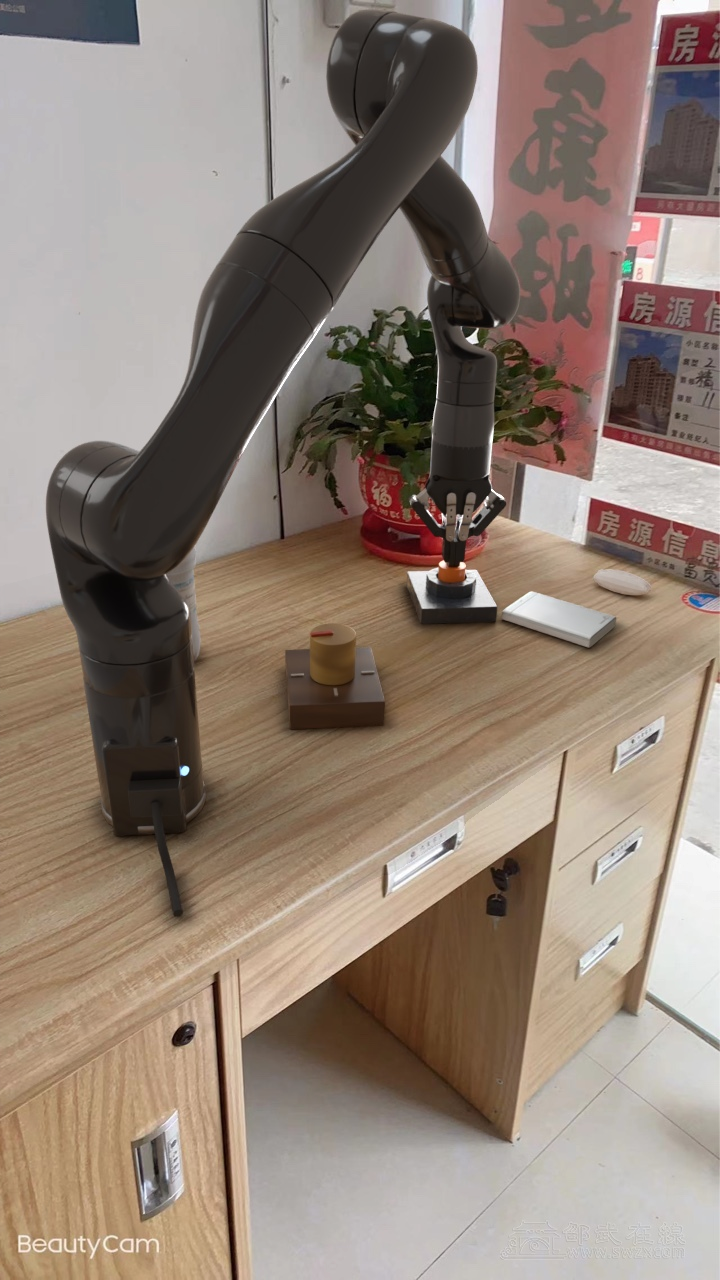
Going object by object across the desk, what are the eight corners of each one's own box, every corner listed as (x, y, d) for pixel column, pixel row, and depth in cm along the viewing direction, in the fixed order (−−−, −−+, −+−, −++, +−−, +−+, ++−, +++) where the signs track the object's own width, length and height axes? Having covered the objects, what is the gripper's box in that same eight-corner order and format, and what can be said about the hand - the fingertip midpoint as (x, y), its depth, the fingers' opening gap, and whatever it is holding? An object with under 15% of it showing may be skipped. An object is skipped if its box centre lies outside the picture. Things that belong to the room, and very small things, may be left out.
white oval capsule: (597, 580, 128) (600, 562, 127) (651, 595, 124) (654, 577, 123) (588, 587, 126) (591, 569, 125) (643, 602, 122) (646, 584, 121)
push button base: (495, 621, 116) (498, 594, 114) (420, 624, 115) (422, 596, 113) (475, 583, 126) (477, 557, 124) (406, 585, 125) (407, 559, 123)
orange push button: (467, 584, 117) (468, 569, 116) (440, 584, 117) (441, 570, 116) (461, 573, 121) (462, 559, 120) (435, 573, 120) (436, 559, 119)
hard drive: (617, 615, 115) (531, 588, 121) (590, 638, 109) (502, 609, 115) (615, 626, 115) (530, 599, 122) (588, 649, 110) (500, 620, 116)
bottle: (191, 676, 102) (178, 512, 92) (137, 669, 103) (118, 506, 93) (211, 649, 108) (200, 492, 98) (159, 643, 109) (144, 487, 99)
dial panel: (384, 725, 94) (385, 700, 92) (289, 729, 93) (289, 704, 91) (370, 668, 104) (371, 645, 103) (285, 672, 103) (285, 648, 102)
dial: (349, 660, 100) (350, 618, 97) (360, 682, 96) (361, 639, 93) (305, 665, 99) (305, 623, 96) (315, 688, 94) (315, 644, 92)
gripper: (414, 445, 106) (408, 577, 114) (522, 444, 107) (508, 574, 115) (405, 428, 112) (399, 554, 120) (506, 427, 114) (494, 552, 122)
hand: (452, 564), depth 118 cm, fingers closed
